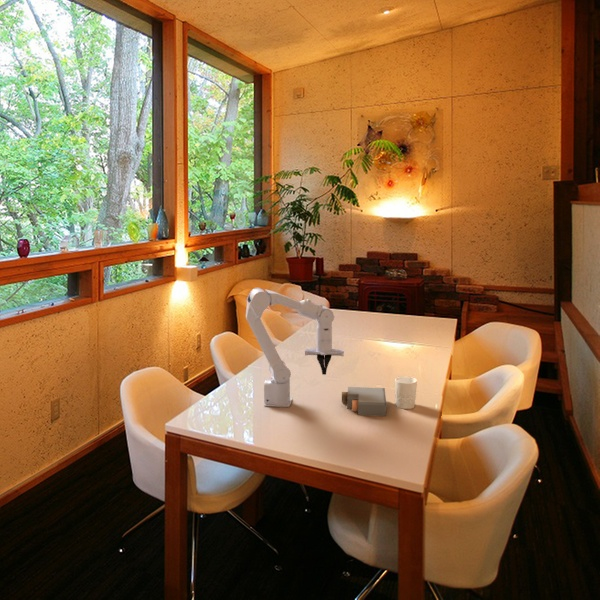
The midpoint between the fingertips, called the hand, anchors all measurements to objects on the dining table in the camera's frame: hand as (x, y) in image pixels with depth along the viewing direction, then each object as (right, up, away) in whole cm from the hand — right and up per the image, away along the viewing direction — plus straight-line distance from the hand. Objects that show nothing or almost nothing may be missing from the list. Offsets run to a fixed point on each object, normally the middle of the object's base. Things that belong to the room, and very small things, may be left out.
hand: (324, 373), depth 196 cm
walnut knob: (+12, -10, -3) cm, 16 cm away
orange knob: (+15, -12, -11) cm, 22 cm away
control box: (+15, -11, -7) cm, 20 cm away
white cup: (+29, -11, -6) cm, 32 cm away
